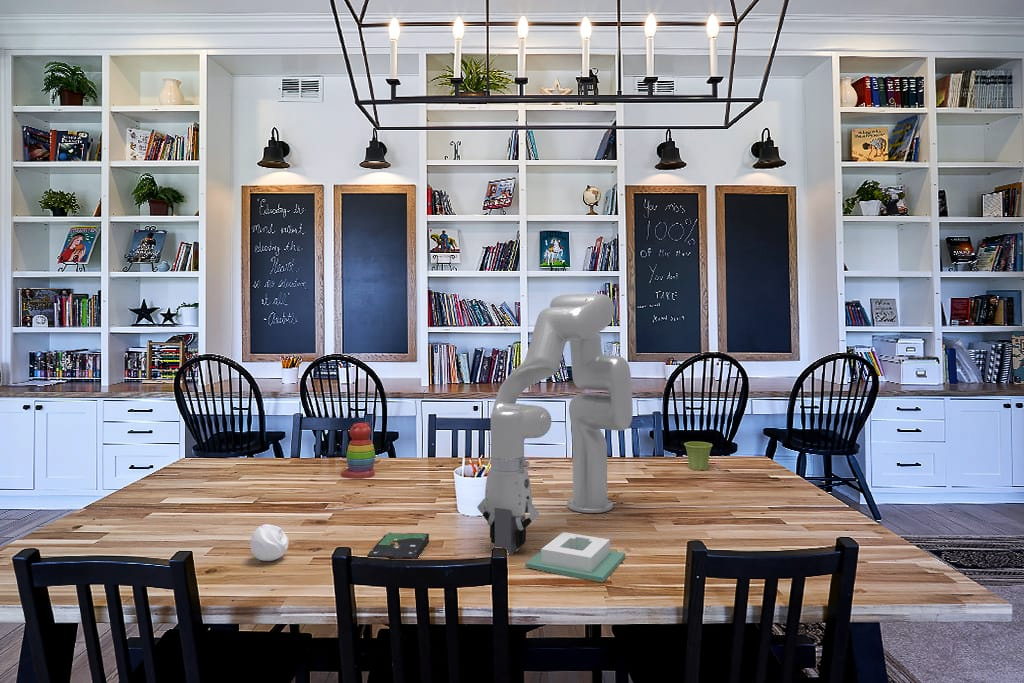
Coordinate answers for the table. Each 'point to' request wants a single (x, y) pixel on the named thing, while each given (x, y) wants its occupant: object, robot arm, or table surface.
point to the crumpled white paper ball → (268, 542)
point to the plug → (505, 530)
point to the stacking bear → (360, 453)
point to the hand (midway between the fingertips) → (507, 542)
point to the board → (581, 574)
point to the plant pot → (698, 455)
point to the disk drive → (400, 546)
